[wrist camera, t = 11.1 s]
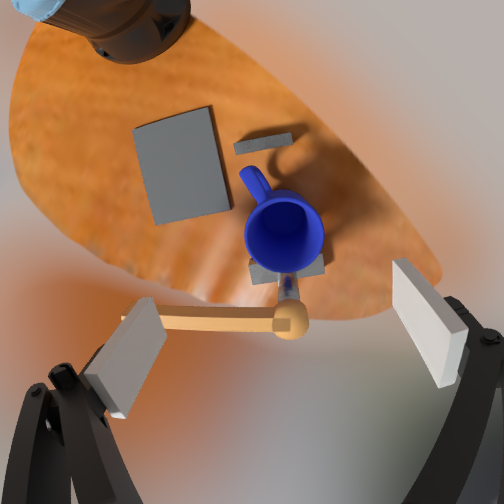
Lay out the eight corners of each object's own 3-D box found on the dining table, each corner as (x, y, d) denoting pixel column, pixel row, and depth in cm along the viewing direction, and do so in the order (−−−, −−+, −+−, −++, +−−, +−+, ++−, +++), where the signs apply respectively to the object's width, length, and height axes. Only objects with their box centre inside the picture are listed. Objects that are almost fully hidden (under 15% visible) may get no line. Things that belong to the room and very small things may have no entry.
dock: (224, 145, 37) (201, 148, 26) (301, 131, 36) (313, 126, 24) (253, 278, 44) (245, 329, 32) (323, 267, 42) (338, 315, 31)
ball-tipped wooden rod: (138, 323, 33) (127, 339, 30) (131, 296, 31) (119, 310, 28) (306, 327, 31) (308, 346, 28) (308, 298, 30) (310, 315, 27)
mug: (278, 145, 37) (279, 147, 28) (324, 224, 40) (338, 250, 31) (224, 178, 39) (207, 191, 30) (272, 253, 42) (270, 286, 33)
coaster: (133, 130, 37) (131, 130, 37) (208, 107, 36) (207, 107, 35) (157, 224, 42) (155, 225, 41) (230, 209, 40) (230, 210, 40)
